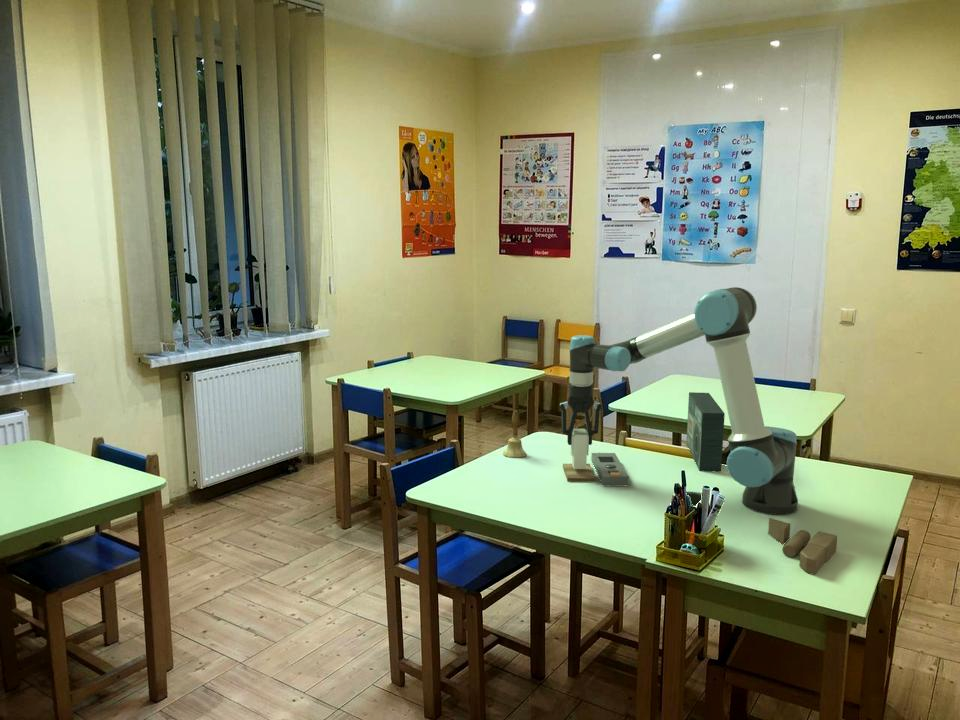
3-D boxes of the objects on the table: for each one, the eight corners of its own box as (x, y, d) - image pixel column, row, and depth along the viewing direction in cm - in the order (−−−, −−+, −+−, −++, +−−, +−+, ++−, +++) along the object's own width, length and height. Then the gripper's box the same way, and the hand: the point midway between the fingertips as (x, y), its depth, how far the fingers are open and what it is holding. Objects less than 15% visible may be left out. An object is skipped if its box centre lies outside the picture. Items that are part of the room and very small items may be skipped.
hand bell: (520, 449, 270) (520, 406, 267) (530, 456, 262) (530, 412, 259) (499, 452, 267) (499, 409, 264) (508, 459, 259) (508, 414, 256)
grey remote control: (628, 485, 233) (628, 474, 232) (602, 485, 233) (603, 474, 232) (614, 461, 256) (614, 450, 256) (591, 461, 256) (591, 450, 256)
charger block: (586, 468, 241) (587, 433, 238) (573, 468, 241) (574, 433, 238) (584, 463, 246) (585, 428, 243) (572, 463, 246) (572, 428, 243)
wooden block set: (839, 530, 187) (817, 555, 173) (837, 551, 188) (815, 577, 174) (770, 513, 198) (745, 535, 184) (769, 533, 199) (743, 556, 185)
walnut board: (595, 481, 237) (596, 477, 237) (567, 481, 237) (567, 477, 237) (589, 467, 251) (589, 463, 250) (562, 467, 251) (562, 463, 250)
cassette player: (686, 445, 275) (689, 392, 271) (705, 445, 274) (708, 392, 270) (699, 471, 247) (702, 412, 243) (721, 472, 246) (724, 413, 242)
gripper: (605, 381, 242) (603, 450, 246) (553, 381, 242) (552, 450, 246) (609, 386, 234) (607, 457, 239) (555, 386, 234) (554, 457, 239)
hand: (579, 454), depth 242 cm, fingers closed on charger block, 4 cm apart
